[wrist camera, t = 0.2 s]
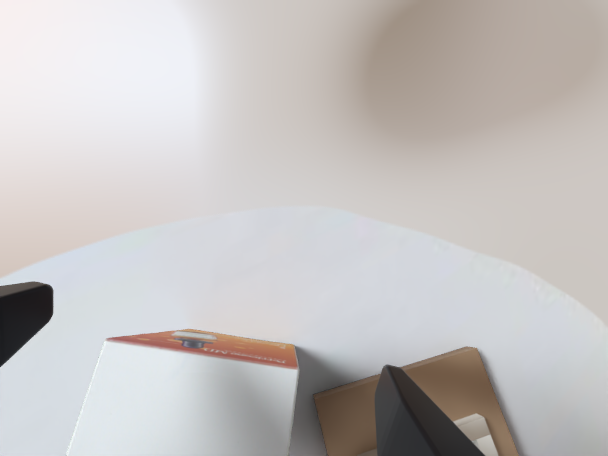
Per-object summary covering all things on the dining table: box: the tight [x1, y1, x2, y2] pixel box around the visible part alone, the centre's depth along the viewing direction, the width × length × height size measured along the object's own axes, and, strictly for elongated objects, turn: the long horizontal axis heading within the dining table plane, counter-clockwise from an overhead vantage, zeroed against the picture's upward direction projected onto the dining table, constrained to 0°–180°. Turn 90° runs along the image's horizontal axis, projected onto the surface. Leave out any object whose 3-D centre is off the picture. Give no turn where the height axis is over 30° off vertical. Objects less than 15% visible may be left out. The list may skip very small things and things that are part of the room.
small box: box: [66, 329, 300, 456], centre depth 16 cm, size 8×6×10 cm
